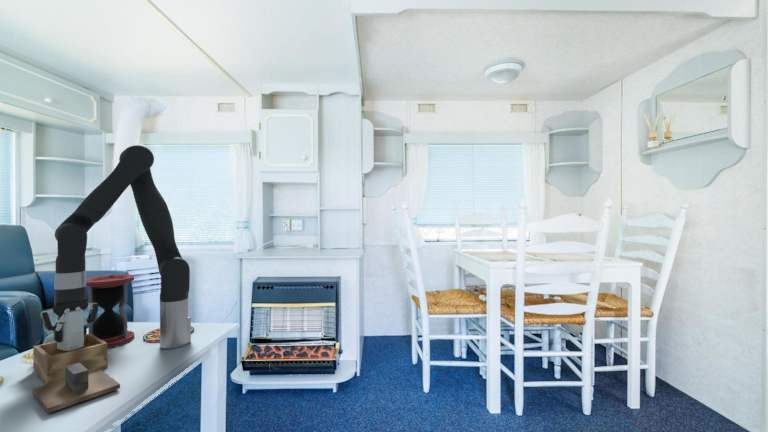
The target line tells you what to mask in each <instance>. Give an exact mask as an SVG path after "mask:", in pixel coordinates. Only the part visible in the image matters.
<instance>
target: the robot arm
mask: <svg viewBox="0 0 768 432" xmlns="http://www.w3.org/2000/svg"><path fill="white" fill-rule="evenodd" d="M154 163H155V156H154V154H153V152H152V151H151V149H149V147H147V146H143V145H137V144H135V145H130V146H129V147H127V148H125V149H123V151H122V152H121V153H120V154H119V159H118V163H117V165H116V166H115V168H113V170H112V172H111V173H110V174H108V175H107V177H106V178H105V179H103V181H102V182H100V184H98V186H97V187H95V188H94V189H93V190H92V191H91V192H90V193H89V194H88V195H87V196H86V197H85V198H84V200H83V201H82V202H81V203H80V204H79V205H78V206H77V207H76V208H75V210H74V211H73V213H71V214H70V215H69V216H67V218H66V219H64V221H62V222H61V224H59V226H58V227H57V228H56V230H55V231H54V238H55V240H56V241H57V256H55V257H56V258H55V276H54V282H53V283H54V284H53V287H54V291H53V292H54V295H53V296H54V298H53V299H54V302H53V304H54V305H53V306H52V308H50V309H47V310H42V311H40V312H39V314H40V318H41V320H42V322H43V325H44V328H45V329H46V330H47V331H49V332H50V331H53V333H54V340H55V341H57V342H58V343H59V342H61V330H60V329H61V327H62V325H63V323H64V322H65V314H66V313H67V312H69V311H74V310H76V311H77V310H81V309H82V310H84V311H85V310H86V309H87V307H88V309H89V312H88V315H87V318H86V317H85V315H84V335H86V334H88V330H87V329H88V326H87V325H89V323H90V322H93V321H94V320H95V316H96V313H98V312H97V310H98V311H99V307H100V306H99V304H97V303H88V300H87V286H86V284H87V279H86V278H87V274H86V273H87V272H86V251H87V244H88V232H89V231H90V229H92V227H93V226H94V225H95V224H96V223H98V222H99V221H101V220H102V219H103V217H104V216H105V215H106V214H107V213H108V211H110V210H111V208H112V207H113V206H114V204H116V202H117V201H118V200H119V198H120V197H121V196H122V194H124V192H125V191H126V190H127V189H128V187H129V186H130V187H131V191H132V194H133V198H134V201H135V204H136V208H137V212H138V215H139V217H140V221H141V223H142V226H143V229H144V231H145V234H146V235H147V237H148V239H149V241H150V243H151V245H152V247H153V250H154V254H155V258H156V262H157V268H158V273H159V275H160V293H159V347H160V348H161V349H165V350H166V349H167V350H168V349H169V350H170V349H177V348H181V347H183V346H186V345H187V344H189V343H191V342H192V329H191V328H192V326H191V325H192V320H191V319H192V318H191V317H190V316H189V292H190V283H191V282H190V279H191V278H190V277H191V276H190V274H191V271H190V265H189V263H188V262H187V261H186V260H185V259H184V258H183V257H182V255H181V253H180V251H179V249H178V245H177V243H176V238H175V229H174V223H173V219H172V218H173V217H172V215H171V213H170V210H169V207H168V204H167V202H166V201H165V199H164V197H163V196H162V194H161V192H160V191H159V189H158V188H157V186H156V185H155V181H154V178H153V175H152V174H153V173H152V170H151V168H152V167H153V165H154ZM52 314H55V315H56V320H55V323H54V325H53V324H52V322H51V320H50V318H51V317H52ZM57 315H58V317H57ZM59 317H60V319H59Z"/></svg>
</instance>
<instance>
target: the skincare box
mask: <svg viewBox="0 0 768 432" xmlns="http://www.w3.org/2000/svg"><path fill="white" fill-rule="evenodd" d="M84 311H85V310H82V309H81V310H77V311H76V310H74V311H69V312H67V313H66V314H65V322H64V323H63V325H62V327H61V329H60V330H61V342H59V343H58V342H57V349H60V350H65V351H71V350H74V349H77V348H81V347H83V346H84V316H85V312H84ZM57 317H58V315H56V318H57ZM59 319H60V317H59Z"/></svg>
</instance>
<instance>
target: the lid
mask: <svg viewBox="0 0 768 432" xmlns="http://www.w3.org/2000/svg"><path fill="white" fill-rule="evenodd" d="M119 389H121V384H120V382H118V381H117V380H115V379H114V378H113V377H111V376H110V375H109V374H107V373H106V372H105V371H103V369H102V370H101V369H97V370H94V371H90V372H88V369H87V368H85V367H84V366H83V365H82V364H80V363H77V364H73V365H69V366H66V367H65V379H63V380H60V381H56V382H53V383H50V384H44V385H40V386H36V387H33V388H32V389H31V390H32V395H33V396H34V397H35V398H36V400H37V401H38V402H39V404H40V405H41V406H42V408H43V409H44V410H45V412H46V413H47V414H50V413H52V412H56V411H58V410H62V409H64V408H68V407H71V406H74V405H76V404H79V403H81V402H84V401H87V400H90V399H93V398H96V397H99V396H102V395H105V394H107V393H108V394H109V393H110V392H113V391H117V390H119Z"/></svg>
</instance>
